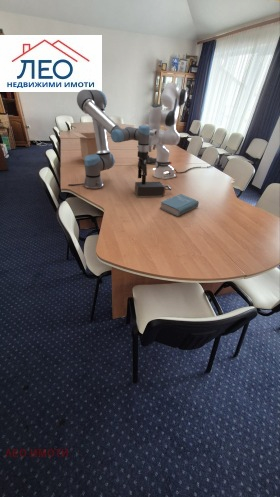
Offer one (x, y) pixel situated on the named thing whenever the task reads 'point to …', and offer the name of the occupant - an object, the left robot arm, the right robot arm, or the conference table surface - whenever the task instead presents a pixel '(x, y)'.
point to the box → (87, 142)
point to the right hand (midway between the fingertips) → (152, 150)
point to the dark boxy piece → (149, 189)
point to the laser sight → (150, 160)
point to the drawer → (166, 189)
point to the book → (179, 204)
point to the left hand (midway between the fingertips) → (141, 181)
